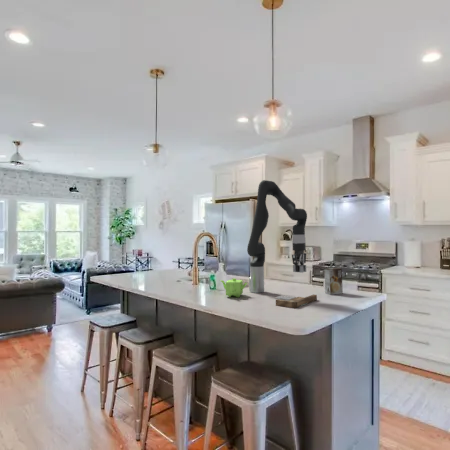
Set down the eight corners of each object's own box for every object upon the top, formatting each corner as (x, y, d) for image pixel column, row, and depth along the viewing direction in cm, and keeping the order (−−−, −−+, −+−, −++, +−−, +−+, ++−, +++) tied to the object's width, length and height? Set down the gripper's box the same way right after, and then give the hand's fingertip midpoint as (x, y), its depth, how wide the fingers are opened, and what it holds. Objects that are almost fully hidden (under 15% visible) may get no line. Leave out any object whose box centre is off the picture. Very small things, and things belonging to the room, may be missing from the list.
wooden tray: (275, 305, 186) (275, 299, 186) (298, 297, 206) (298, 292, 206) (295, 308, 178) (295, 302, 179) (316, 299, 198) (316, 294, 198)
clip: (293, 271, 200) (293, 265, 200) (297, 271, 204) (297, 264, 204) (302, 272, 196) (302, 265, 196) (306, 271, 200) (306, 264, 200)
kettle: (231, 299, 205) (231, 280, 206) (218, 296, 217) (218, 278, 217) (250, 296, 214) (250, 278, 214) (237, 293, 226) (236, 276, 226)
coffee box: (337, 292, 222) (336, 267, 222) (342, 293, 216) (342, 268, 216) (324, 293, 219) (324, 268, 220) (330, 294, 213) (329, 269, 214)
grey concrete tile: (274, 298, 206) (274, 297, 206) (281, 296, 212) (281, 295, 212) (289, 300, 200) (289, 299, 200) (296, 297, 206) (296, 297, 206)
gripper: (298, 242, 208) (299, 269, 208) (287, 242, 197) (288, 272, 197) (310, 242, 204) (311, 270, 203) (298, 242, 193) (299, 272, 192)
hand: (299, 271), depth 200 cm, fingers closed on clip, 5 cm apart
